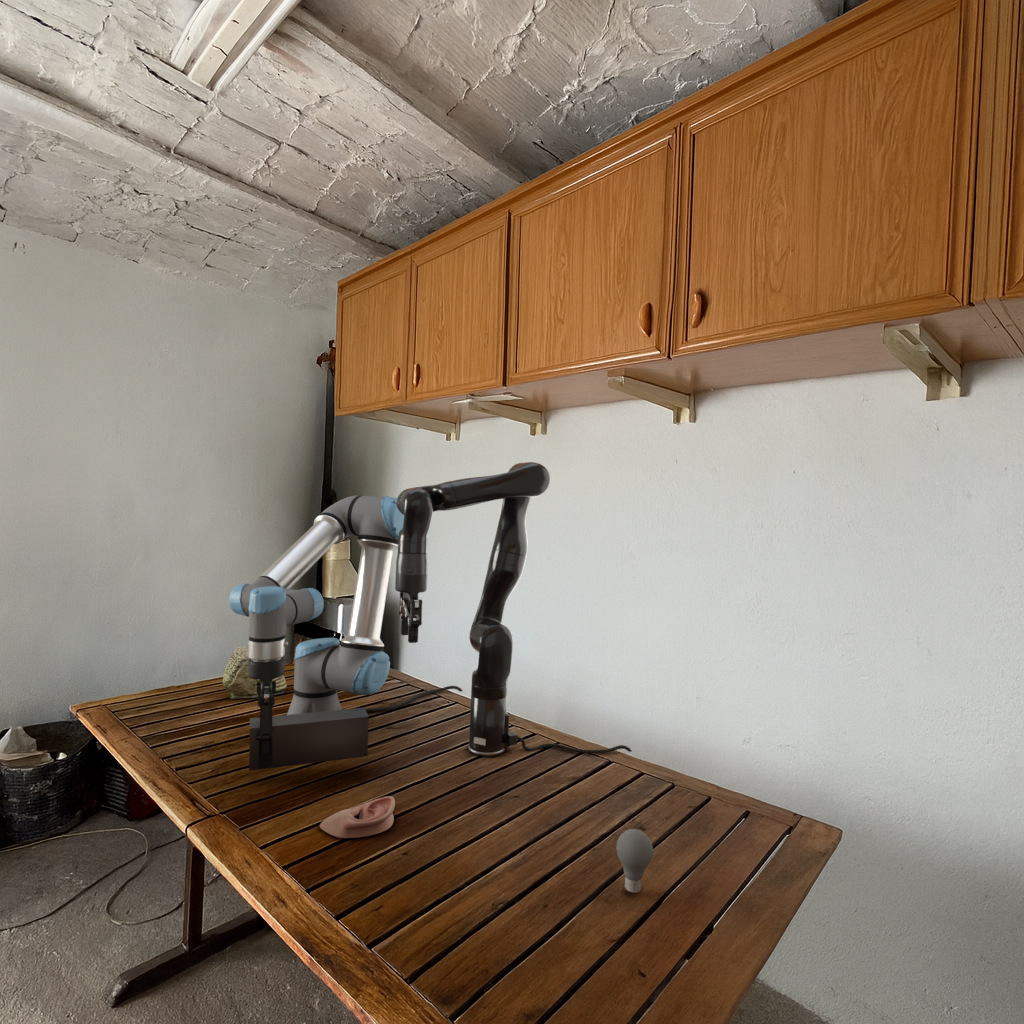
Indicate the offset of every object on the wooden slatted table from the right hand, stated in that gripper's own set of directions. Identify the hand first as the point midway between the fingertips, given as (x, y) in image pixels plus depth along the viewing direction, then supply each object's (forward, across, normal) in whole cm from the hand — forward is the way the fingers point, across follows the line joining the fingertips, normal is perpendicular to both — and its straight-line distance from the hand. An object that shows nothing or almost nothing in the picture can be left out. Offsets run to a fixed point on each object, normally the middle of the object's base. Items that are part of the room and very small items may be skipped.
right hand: (408, 638), depth 152 cm
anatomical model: (+30, -26, +14) cm, 42 cm away
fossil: (+30, +62, +34) cm, 77 cm away
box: (+26, -1, +22) cm, 34 cm away
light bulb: (+30, -61, -26) cm, 72 cm away
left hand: (+26, -1, +31) cm, 41 cm away
